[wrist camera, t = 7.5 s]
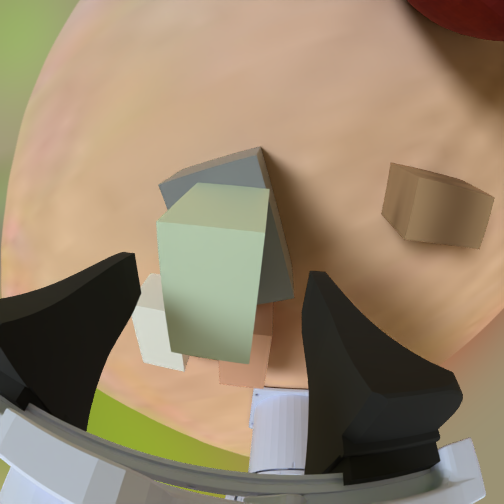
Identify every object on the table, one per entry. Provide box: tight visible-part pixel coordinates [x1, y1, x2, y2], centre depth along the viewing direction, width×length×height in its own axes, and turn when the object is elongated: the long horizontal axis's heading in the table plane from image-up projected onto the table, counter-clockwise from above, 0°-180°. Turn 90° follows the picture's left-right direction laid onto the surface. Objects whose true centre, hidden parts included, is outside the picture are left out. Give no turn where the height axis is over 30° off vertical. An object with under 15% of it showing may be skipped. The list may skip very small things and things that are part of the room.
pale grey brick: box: [132, 273, 190, 371], centre depth 20 cm, size 6×3×4 cm, turn 175°
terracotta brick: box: [219, 302, 274, 389], centre depth 20 cm, size 6×3×4 cm, turn 177°
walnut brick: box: [381, 163, 494, 249], centre depth 14 cm, size 6×3×4 cm, turn 87°
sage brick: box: [156, 182, 270, 364], centre depth 12 cm, size 6×3×5 cm, turn 175°
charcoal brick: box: [159, 146, 294, 305], centre depth 16 cm, size 8×5×4 cm, turn 16°
